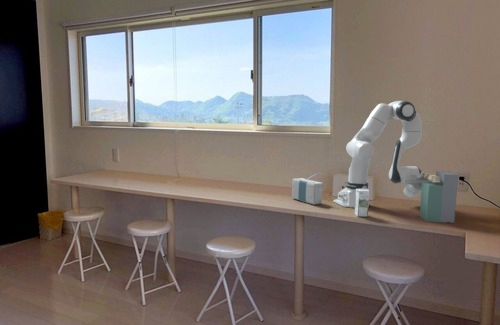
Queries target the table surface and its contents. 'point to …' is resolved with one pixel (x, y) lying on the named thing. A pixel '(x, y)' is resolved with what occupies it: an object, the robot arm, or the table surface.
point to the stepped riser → (439, 198)
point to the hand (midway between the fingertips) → (426, 174)
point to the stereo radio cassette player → (307, 190)
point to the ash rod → (431, 177)
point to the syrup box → (362, 202)
